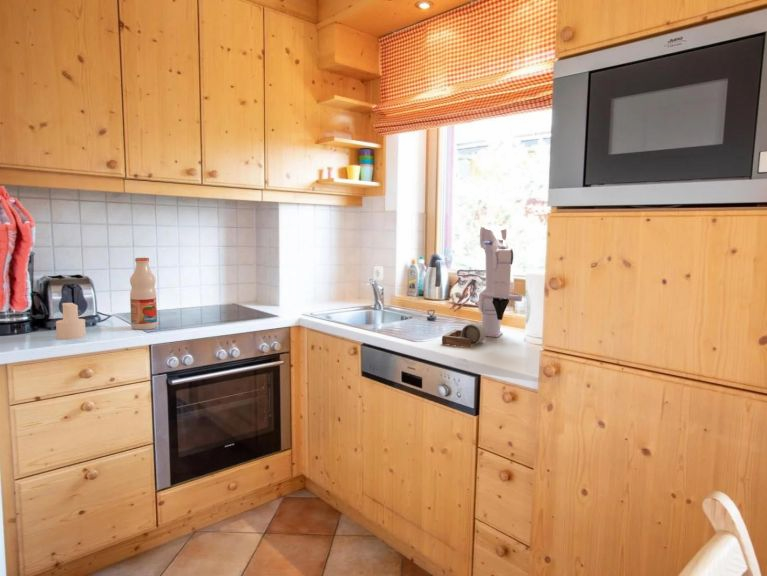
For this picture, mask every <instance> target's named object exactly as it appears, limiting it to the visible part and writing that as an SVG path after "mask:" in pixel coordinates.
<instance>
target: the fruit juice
mask: <svg viewBox="0 0 767 576" xmlns="http://www.w3.org/2000/svg"><path fill="white" fill-rule="evenodd" d="M135 263H136V264H135V269H134V271H133V273H132V274H131V276H130V278H129V283H130V286H131V289H130V294H129V299H130V300H129V302H130V326H131V329H132V330H135V331H137V330H139V331H140V330H141V331H142V330H152V329H155V328H157V325H158V311H157V291H156V288H155V285H156V277H155V275H154V274H153V273H152V271H151V269H150V266H149V263H150V258H149V257H136V258H135Z"/></svg>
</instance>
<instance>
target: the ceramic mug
mask: <svg viewBox="0 0 767 576" xmlns="http://www.w3.org/2000/svg"><path fill="white" fill-rule="evenodd" d="M461 330H462V331H461V336H459V337H462V338H470V339H471V346H475V345H478V344H479V343H480V342H483V341H484V340H485V338H486V337H487V336H486V330H485V328H484V327H483V326H482V325H481V324H480V323H470V324H469V323H468V324H467V325H465V326H464V327H463V328H462V329H461Z"/></svg>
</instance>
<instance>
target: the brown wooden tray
mask: <svg viewBox="0 0 767 576" xmlns="http://www.w3.org/2000/svg"><path fill="white" fill-rule="evenodd" d="M461 331H462V329H452V331H449V332H447V333H446V334H444V335H442V336H441V338H442V339H441V345H445V344H449V345H448V346H453V345H456V346H455V347H461V346H463V347H462V348H469V347H470V348H471V347H472V345H471V339H470V338H462V337H459V336H461Z"/></svg>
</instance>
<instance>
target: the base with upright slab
mask: <svg viewBox="0 0 767 576" xmlns="http://www.w3.org/2000/svg"><path fill="white" fill-rule="evenodd" d="M78 307H79V306H78V305H77V304H76V303H74V302H62V319H59V320H57V321H56V320H55V326H56V327H55V329H56V331H55V332H56V333H55V334H56V339H58V340H59V341H60V340H64V341H68V340H69V341H70V340H71V341H72V340H78V339H83V338H86V336H87V332H86V319H84V318H79V308H78Z"/></svg>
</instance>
